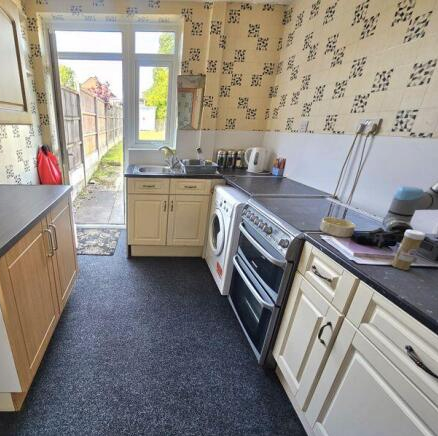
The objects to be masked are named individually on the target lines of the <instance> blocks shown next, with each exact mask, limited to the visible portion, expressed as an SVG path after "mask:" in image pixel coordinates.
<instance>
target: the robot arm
mask: <svg viewBox="0 0 438 436" xmlns="http://www.w3.org/2000/svg"><path fill="white" fill-rule="evenodd" d="M416 211H438V180H437V181H436V182H434V183H433V185H431V186H430V187H429V188H428V189H426V190H425V191H424V190H423V189H422V188H419V187H414V186H405V185H404V186H400V187H398V188H397V189H396V191H395V194H394V195H393V198H392V201H391V204H390V206H389V208H388V211H387V212H386V215H384V217H383V219H382V226H383V227H378V228H377V229H373V230H371V231H370V230H369V231H368V233H367V236H366V238H367V239H369V240H370V239H371V240H372V243H375V244H376V243H377V247H378V249H382V248H383V246H384V244H385V241H392V242H394V241H393V240H395V241H396V242H395V243H397V244H398V243H399V244H401V242H402V240H403V238H404V234H405V232H406V230H414V229H413V226H412V225H411V221H412V219H413V217H414V215H415V214H416V213H415V212H416ZM419 248H420V249H423V250H425V251H427V252H430V253H429V254H430V255H431V257H432V258H433V260H434V261H435V262H437V263H438V242H437V241H435V240H433V239H431V238H430V237H428V236H425V237H424V239H423V240H422V242H421V244H420V246H419Z"/></svg>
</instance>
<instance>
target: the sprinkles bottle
mask: <svg viewBox="0 0 438 436" xmlns="http://www.w3.org/2000/svg"><path fill="white" fill-rule="evenodd" d="M424 237H426V233H424V232H423V231H420V230H415V229H413V230H406V232H405V234H404V238H403V240H402V242H401V243H399V245H398V248H397V251H396V253H395V255H394V258H393V260H392V262H391V266H393V268H395V269H399V270H402V271H408V270H410V268H411V265H412V263H413V261H414V260H415V258H416V255H417V253H418V250H419V248H420V247H419V246H420V244H421V242H422V240H423V239H424Z"/></svg>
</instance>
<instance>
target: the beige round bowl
mask: <svg viewBox="0 0 438 436" xmlns="http://www.w3.org/2000/svg"><path fill="white" fill-rule="evenodd" d="M356 226H357V225H356V224H355V223H354V222H352V221H349V220H347V219H343V218H338V217H332V216H331V217H329V216H326V217H323V218H321V221H320V224H319V230H320V231H321V232H322V233H324V234H327V235H328V236H332V237H337V238H350V237H352V236H353V235H354V233H355V229H356ZM352 234H353V235H352Z"/></svg>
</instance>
